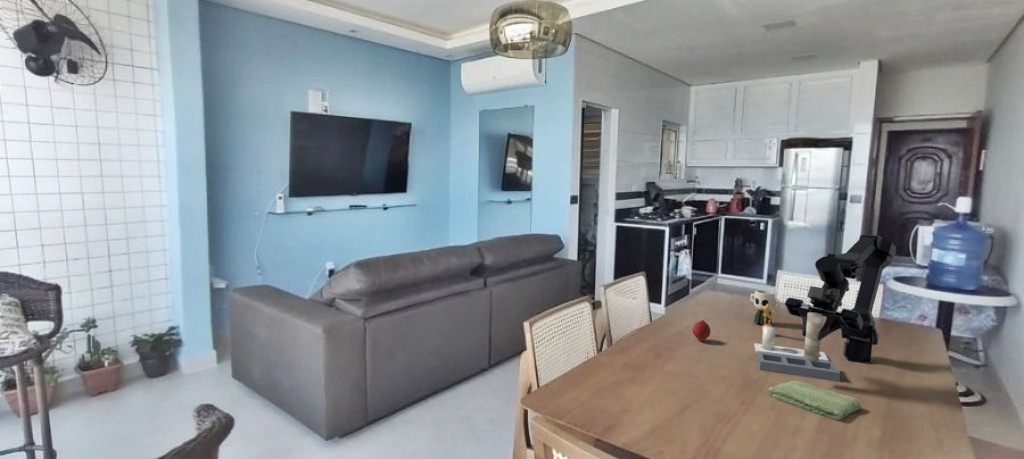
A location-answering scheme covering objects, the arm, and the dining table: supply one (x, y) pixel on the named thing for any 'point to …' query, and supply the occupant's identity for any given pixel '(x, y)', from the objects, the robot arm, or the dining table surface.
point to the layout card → (769, 346)
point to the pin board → (798, 366)
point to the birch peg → (813, 336)
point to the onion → (701, 330)
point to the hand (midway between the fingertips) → (810, 337)
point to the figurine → (767, 310)
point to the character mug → (763, 304)
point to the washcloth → (816, 399)
